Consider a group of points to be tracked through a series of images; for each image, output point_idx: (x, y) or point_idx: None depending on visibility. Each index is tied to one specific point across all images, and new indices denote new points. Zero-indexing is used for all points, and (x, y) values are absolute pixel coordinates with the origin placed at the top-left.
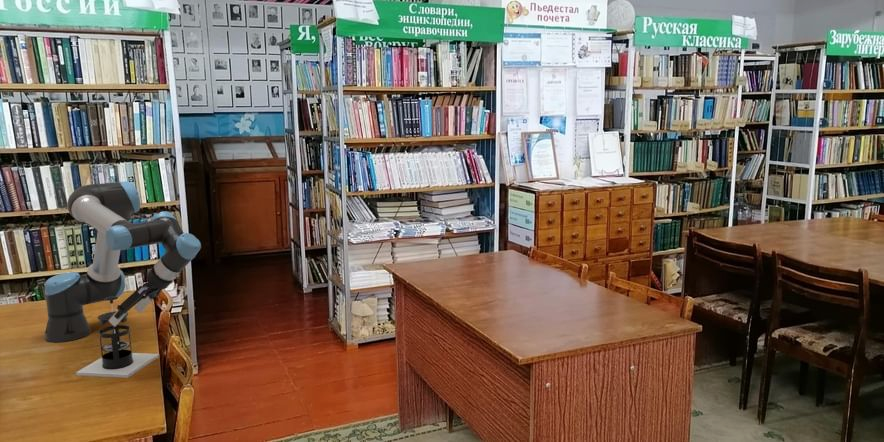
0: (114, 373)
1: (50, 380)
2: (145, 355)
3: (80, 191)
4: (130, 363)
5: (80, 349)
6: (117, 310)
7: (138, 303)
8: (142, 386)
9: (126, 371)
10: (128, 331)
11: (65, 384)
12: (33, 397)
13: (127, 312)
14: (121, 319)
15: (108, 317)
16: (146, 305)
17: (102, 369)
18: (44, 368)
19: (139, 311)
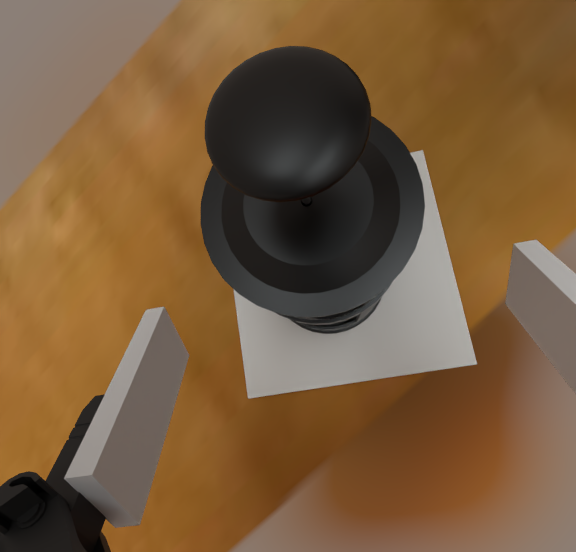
0: (247, 336)
1: (173, 154)
2: (440, 317)
3: None
4: (335, 332)
5: (424, 9)
6: (90, 426)
7: (553, 287)
8: (200, 514)
9: (275, 368)
10: (347, 319)
11: (158, 226)
12: (64, 216)
13: (136, 524)
14: (169, 419)
15: (239, 225)
16: (570, 383)
17: None
18: (246, 53)
19: (512, 302)
